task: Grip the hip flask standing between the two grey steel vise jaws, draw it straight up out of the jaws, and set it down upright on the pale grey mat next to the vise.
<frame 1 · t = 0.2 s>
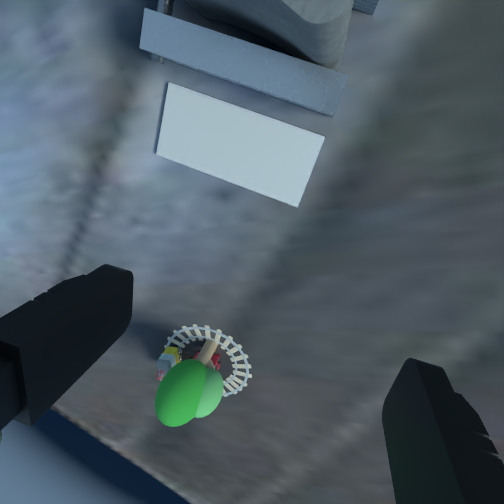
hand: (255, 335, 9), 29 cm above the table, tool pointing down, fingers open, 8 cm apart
vise: (270, 23, 31), on the table
train set: (207, 360, 49), on the table
mat: (236, 146, 36), on the table
hip flask: (270, 24, 31), resting in vise
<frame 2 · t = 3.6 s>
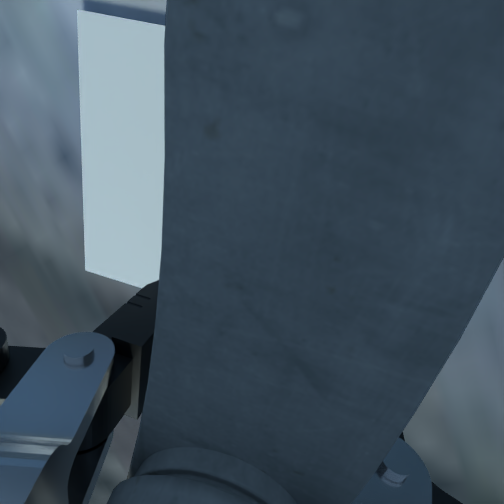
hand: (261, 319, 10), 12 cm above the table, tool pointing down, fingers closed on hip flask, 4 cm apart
mat: (137, 173, 22), on the table
hip flask: (300, 215, 21), resting in vise, touching gripper
when the fingers open (14 cm above the table, at t = 11.3 s): hip flask drops 1 cm, resting on mat.
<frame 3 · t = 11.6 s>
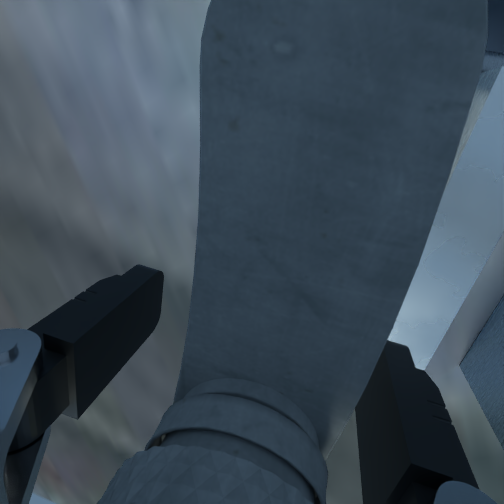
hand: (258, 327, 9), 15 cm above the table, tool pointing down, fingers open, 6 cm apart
vise: (475, 252, 21), on the table
hip flask: (304, 210, 22), resting on mat
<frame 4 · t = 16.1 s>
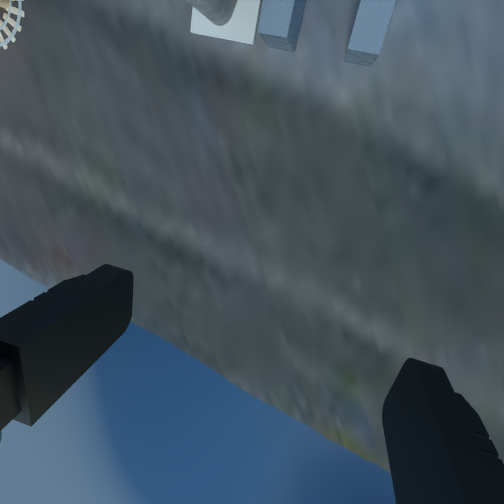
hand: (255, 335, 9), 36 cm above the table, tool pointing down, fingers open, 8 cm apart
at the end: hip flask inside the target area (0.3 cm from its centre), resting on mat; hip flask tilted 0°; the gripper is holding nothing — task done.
